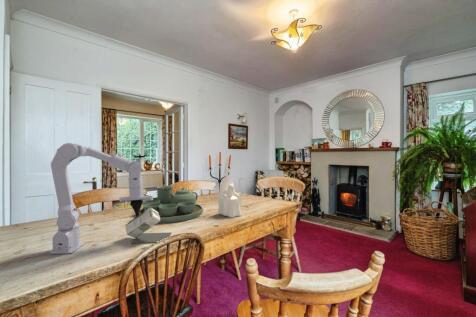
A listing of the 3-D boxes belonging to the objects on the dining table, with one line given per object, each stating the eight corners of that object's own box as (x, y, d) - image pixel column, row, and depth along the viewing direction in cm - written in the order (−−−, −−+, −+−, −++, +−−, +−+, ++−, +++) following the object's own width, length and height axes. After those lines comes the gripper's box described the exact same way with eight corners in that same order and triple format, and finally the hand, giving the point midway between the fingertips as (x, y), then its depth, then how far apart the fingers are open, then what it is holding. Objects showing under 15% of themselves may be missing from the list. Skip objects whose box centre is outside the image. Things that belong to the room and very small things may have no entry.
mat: (165, 242, 103) (165, 241, 103) (131, 243, 102) (131, 242, 102) (171, 233, 115) (171, 232, 115) (140, 234, 114) (140, 233, 114)
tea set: (124, 219, 140) (123, 192, 139) (167, 205, 177) (167, 183, 176) (178, 227, 125) (178, 197, 125) (213, 210, 162) (213, 186, 162)
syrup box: (133, 229, 112) (158, 211, 113) (135, 239, 108) (161, 220, 109) (124, 225, 108) (150, 206, 108) (126, 235, 104) (153, 215, 105)
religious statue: (227, 219, 140) (228, 169, 139) (216, 213, 152) (217, 168, 150) (250, 214, 150) (251, 168, 149) (238, 209, 161) (239, 166, 160)
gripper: (154, 185, 112) (155, 212, 113) (123, 186, 111) (125, 214, 112) (149, 187, 105) (151, 217, 106) (116, 189, 104) (118, 219, 105)
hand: (137, 216), depth 108 cm, fingers closed, pressing on syrup box
